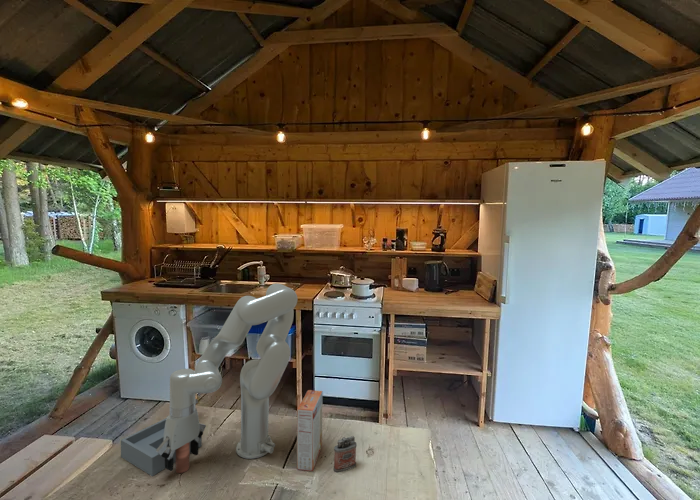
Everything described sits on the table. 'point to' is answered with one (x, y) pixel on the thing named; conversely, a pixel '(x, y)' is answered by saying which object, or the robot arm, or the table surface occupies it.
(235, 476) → the table surface
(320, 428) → the cracker box
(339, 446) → the lighter
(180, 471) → the peg
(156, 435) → the tray
